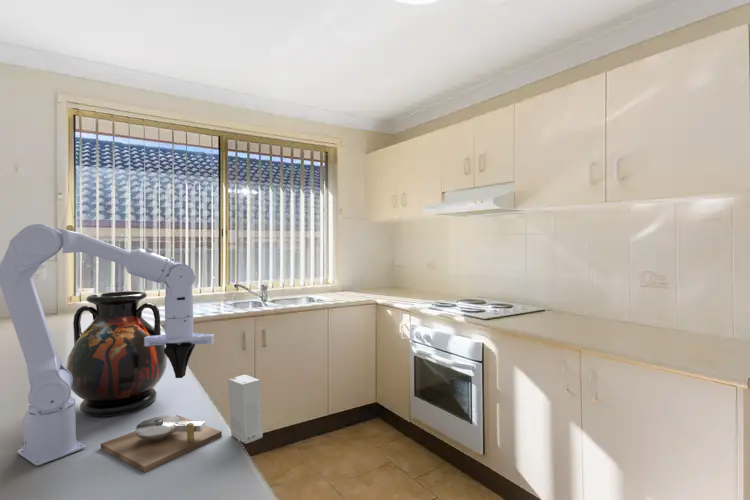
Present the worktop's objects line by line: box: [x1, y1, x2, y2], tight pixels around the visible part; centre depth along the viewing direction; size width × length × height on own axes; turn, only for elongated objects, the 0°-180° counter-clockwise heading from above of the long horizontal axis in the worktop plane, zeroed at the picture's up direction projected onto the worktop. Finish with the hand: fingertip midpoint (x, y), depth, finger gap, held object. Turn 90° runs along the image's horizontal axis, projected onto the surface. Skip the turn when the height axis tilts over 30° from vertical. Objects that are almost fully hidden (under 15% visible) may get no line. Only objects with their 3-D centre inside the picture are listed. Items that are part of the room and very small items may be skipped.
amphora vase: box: [65, 290, 168, 418], centre depth 104 cm, size 22×22×28 cm
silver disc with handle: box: [135, 414, 206, 439], centre depth 84 cm, size 13×8×2 cm, turn 89°
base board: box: [100, 414, 223, 473], centre depth 84 cm, size 16×16×4 cm
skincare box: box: [227, 374, 264, 444], centre depth 86 cm, size 6×4×12 cm
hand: (180, 376), depth 94 cm, fingers closed
